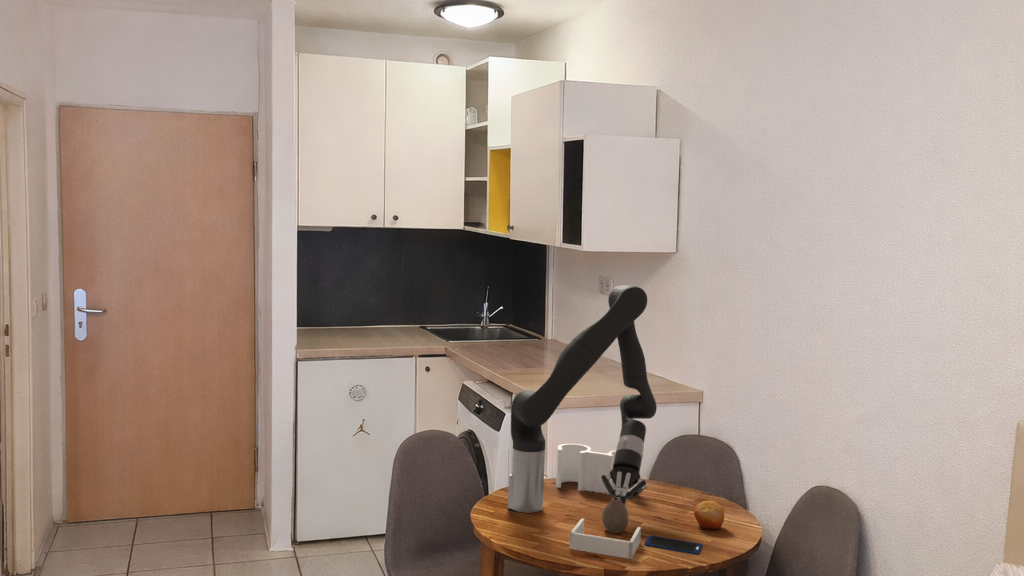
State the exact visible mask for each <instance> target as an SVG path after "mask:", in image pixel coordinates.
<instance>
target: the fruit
mask: <svg viewBox="0 0 1024 576" xmlns="http://www.w3.org/2000/svg"><path fill="white" fill-rule="evenodd" d="M693 514H694V517H695V519H696V522H697V524H698V525H699V527H700V528H702V529H707V530H718V529H720V528H722V525H723V523H724V520H725V510H724V508H723V506H722V505H720V503H718V502H717V501H716V500H704V501H700V503H697V505H695V507H694V511H693Z"/></svg>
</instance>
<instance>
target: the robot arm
mask: <svg viewBox="0 0 1024 576" xmlns="http://www.w3.org/2000/svg"><path fill="white" fill-rule="evenodd" d="M607 301H608V307H609V309H608V311H606V313H605V314H604V315H603V316H602V317H600V318H599V319H598V320H597V321H595V322H594V323H592V324H590V325H589V326H587V327H586V328H585V329H583V330H582V331H580V332H579V333H578V334H577V335H575V337H574V338H572V340H571V341H570V342H568V344H567V345H566V347H564V349H563V350H562V351H561V353H560V354H559V356H558V358H557V360H556V362H555V366H554V368H553V369H552V372H551V374H550V375H549V377H548V378H547V379H546V381H545V382H544V383H543V384H542V385H541V386H540V387H539V388H538V389H537V390H535V391H533V390H529V389H526V390H522V391H520V392H518V393H517V394H516V395H515V396H514V397H513V400H512V403H511V406H510V407H511V409H510V436H511V441H512V453H511V454H512V456H511V473H510V474H509V476H508V494H507V495H508V498H507V509H510V510H513V511H515V512H518V513H525V514H526V513H527V514H528V513H530V514H532V513H538V512H541V511H542V510H543V508H544V507H543V505H544V504H543V503H544V483H545V482H544V481H545V480H544V479H545V463H546V439H545V436H544V434H543V430H542V426H543V425H544V424H546V423H547V422H548V421H549V419H550V418H551V417H552V416H553V414H554V412H555V411H556V410H557V408H558V407H559V406H560V404H561V403H562V401H563V400H564V399H565V397H566V396H567V395H568V394H569V392H570V391H571V390H572V389H573V388H574V387H575V386H576V385H577V384H578V383H579V381H580V380H581V379H582V378H583V377H584V376H585V375H586V374H587V373H588V371H590V370H591V368H592V367H593V366H594V365H595V364H596V363H597V362H598V361H599V360H600V359H601V357H602V355H604V353H605V352H606V351H607V350H608V349H609V348H610V346H611V345H612V344H613V343H614V342H615V340H617V345H618V348H619V354H620V355H619V356H620V362H621V372H622V373H621V374H622V380H623V381H622V382H623V385H624V386H625V387H627V388H629V389H633V390H636V391H637V392H638V394H627V395H624V396H622V398H621V399H620V402H619V408H620V415H621V430H620V433H619V439H618V442H617V445H616V448H615V449H616V454H615V459H614V464H613V468H612V470H611V471H610V474H608V475H606V476H605V475H602V477H601V478H602V482H603V484H604V485H605V487H606V489H607V490H608V492H609V494H610V495H609V496H611V497H612V498H613V497H618V498H620V499H621V501H622V503H623V504H624V506H625V507H626V503H627V501H628V500H633V499H635V498H636V497H637V496H638V495H640V493H642V492H643V491H644V490H645V489H647V483H646V480H644V479H642V478H641V474H640V471H641V465H642V461H643V457H644V444H645V438H646V432H647V427H646V425H645V423H643V422H642V421H640V420H638V419H641V420H642V419H645V420H646V419H648V420H649V419H652V418H653V417H655V415H656V414H657V413H656V412H657V402H656V399H655V397H654V394H653V391H652V389H651V387H650V384H649V380H648V374H647V365H646V358H645V353H644V350H643V348H642V346H641V343H640V340H639V337H638V334H637V331H636V330H637V329H636V325H635V324H636V323H635V321H636V320H637V319H638V318H639V317H640V316H641V315H642V314H643V313H644V311H645V310H646V308H647V305H648V295H647V293H646V291H645V289H643V288H641V287H639V286H635V285H627V284H624V285H622V284H621V285H617V286H615V287H613V288H612V289H611V291H610V293H609V294H608V300H607ZM610 479H612V480H613V482H614V484H615V486H616V489H613V488H612V486H611V484H610V482H611V480H610ZM635 484H636V486H635V487H634V488H633V489H632V490H631V491H630V488H632V487H633V486H634V485H635ZM622 488H623V489H622Z"/></svg>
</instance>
